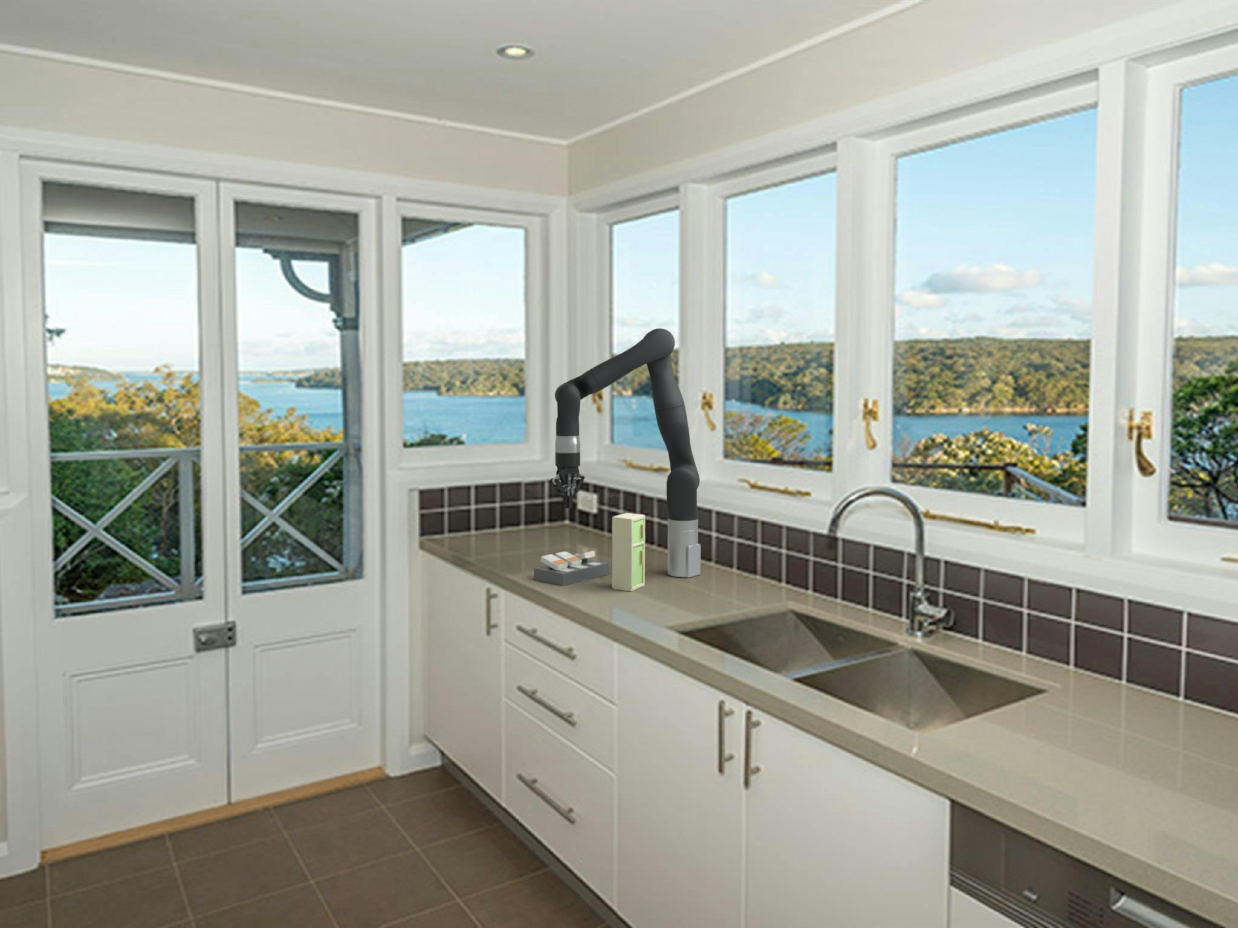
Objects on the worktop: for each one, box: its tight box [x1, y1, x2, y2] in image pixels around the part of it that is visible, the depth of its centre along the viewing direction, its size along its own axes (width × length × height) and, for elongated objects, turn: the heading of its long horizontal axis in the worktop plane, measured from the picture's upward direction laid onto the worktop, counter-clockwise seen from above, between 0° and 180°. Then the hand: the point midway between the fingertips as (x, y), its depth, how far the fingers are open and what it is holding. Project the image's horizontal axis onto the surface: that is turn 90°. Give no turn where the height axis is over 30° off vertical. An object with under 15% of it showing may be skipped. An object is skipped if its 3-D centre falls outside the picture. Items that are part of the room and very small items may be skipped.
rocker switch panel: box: [533, 558, 610, 587], centre depth 285 cm, size 12×24×4 cm, turn 139°
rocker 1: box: [540, 553, 568, 570], centre depth 280 cm, size 7×4×2 cm, turn 50°
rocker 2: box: [573, 550, 596, 559], centre depth 289 cm, size 7×4×2 cm, turn 49°
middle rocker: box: [554, 551, 582, 567], centre depth 284 cm, size 7×4×2 cm, turn 50°
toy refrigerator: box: [611, 512, 646, 592], centre depth 269 cm, size 8×7×21 cm
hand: (568, 507), depth 283 cm, fingers closed
